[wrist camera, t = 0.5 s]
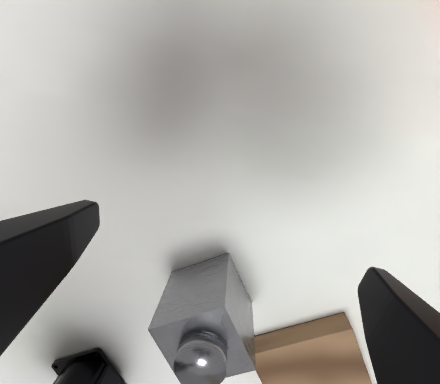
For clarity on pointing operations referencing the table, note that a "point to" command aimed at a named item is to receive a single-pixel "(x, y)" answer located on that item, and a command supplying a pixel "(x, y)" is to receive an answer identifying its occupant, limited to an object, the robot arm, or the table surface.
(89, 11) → the table surface
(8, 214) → the table surface
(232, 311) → the metal cube with knob
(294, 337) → the brown flat block
